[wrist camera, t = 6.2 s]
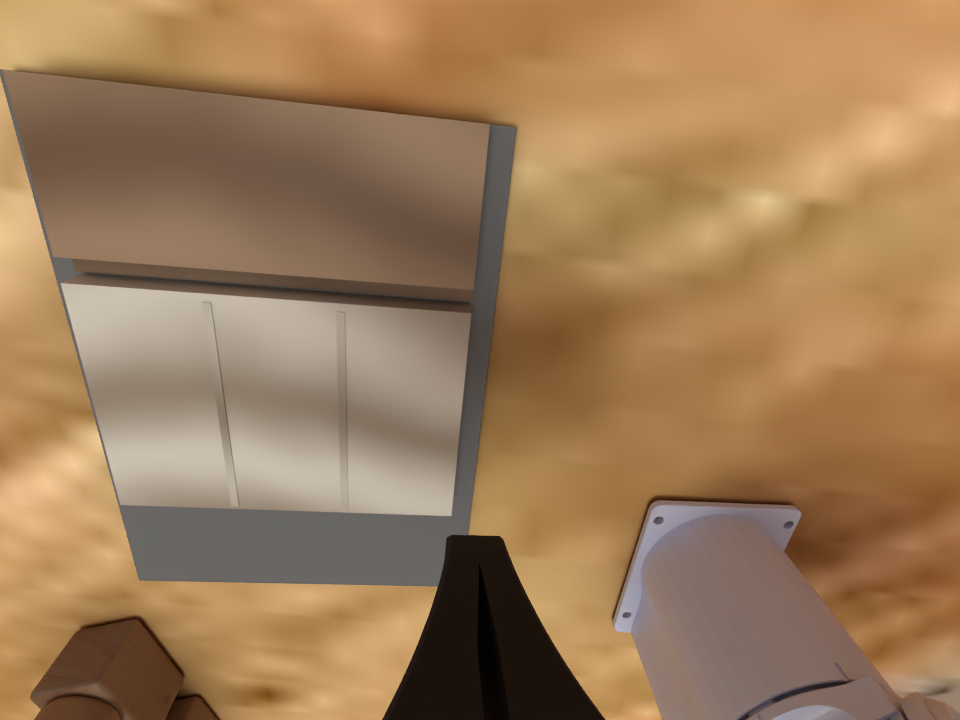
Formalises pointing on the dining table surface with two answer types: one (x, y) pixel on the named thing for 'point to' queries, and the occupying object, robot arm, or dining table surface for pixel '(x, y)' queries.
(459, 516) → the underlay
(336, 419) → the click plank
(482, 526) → the dining table surface
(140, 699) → the brown wooden upright frame
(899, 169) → the dining table surface
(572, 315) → the dining table surface
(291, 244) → the laid plank
